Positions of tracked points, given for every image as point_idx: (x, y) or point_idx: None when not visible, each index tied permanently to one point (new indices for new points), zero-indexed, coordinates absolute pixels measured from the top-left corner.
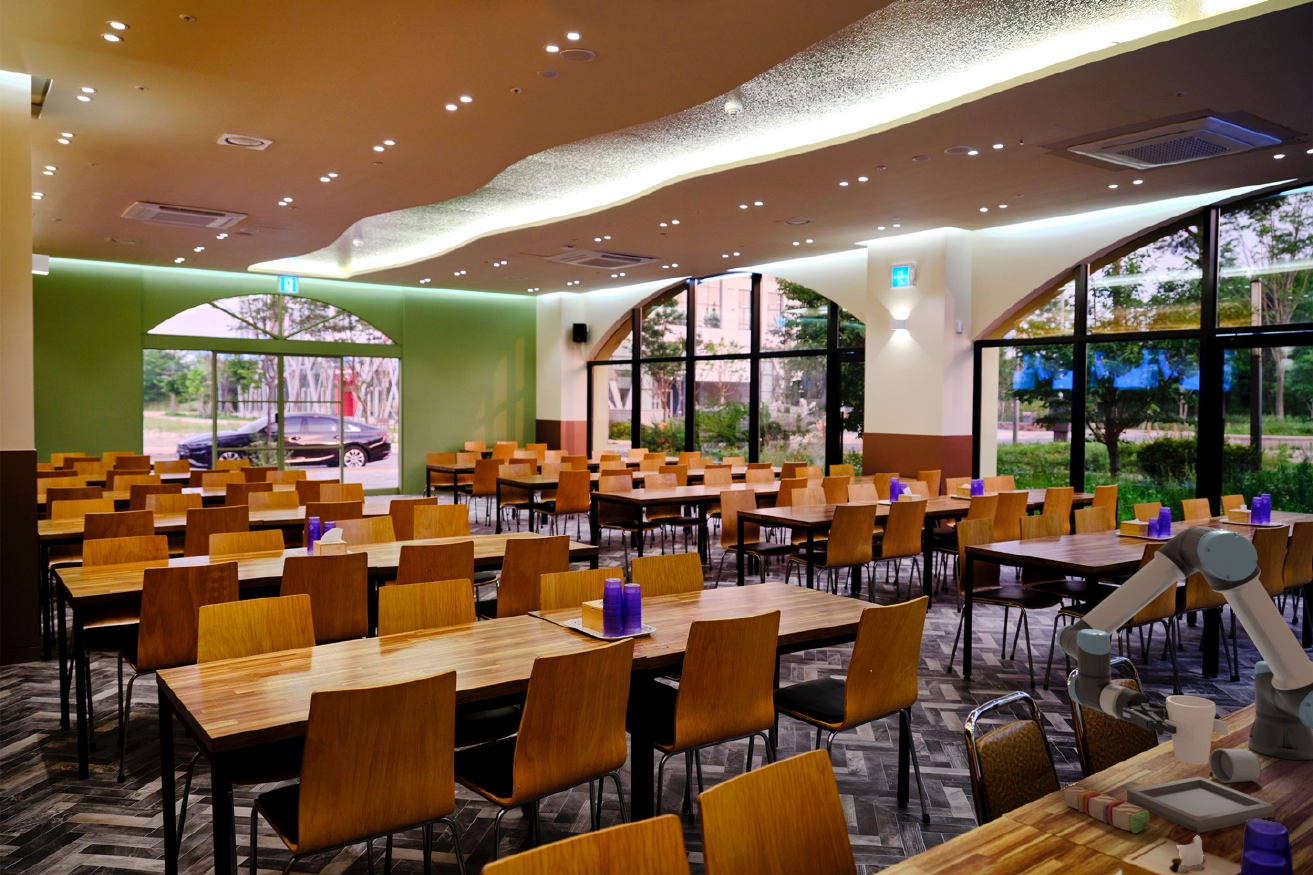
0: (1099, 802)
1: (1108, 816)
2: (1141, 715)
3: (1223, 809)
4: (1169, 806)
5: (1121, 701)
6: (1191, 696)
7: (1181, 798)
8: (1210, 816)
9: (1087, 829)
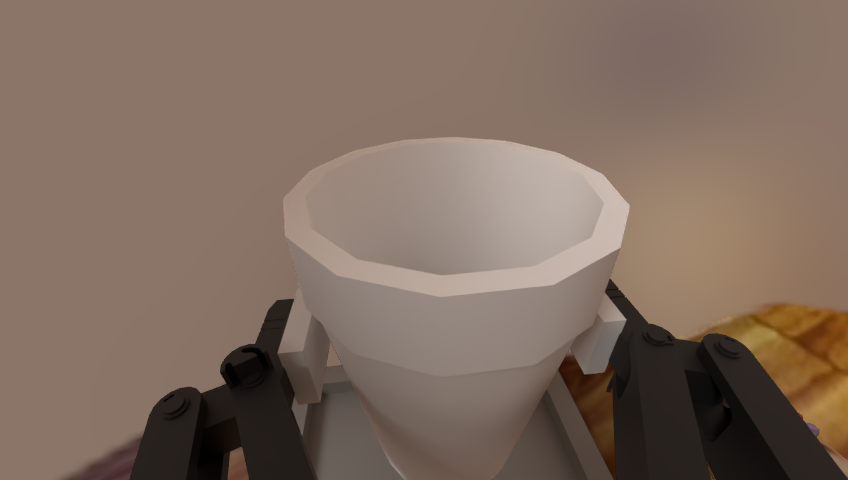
0: (842, 457)
1: None
2: (822, 477)
3: None
4: (573, 430)
5: None
6: (318, 246)
7: None
8: None
9: (841, 440)
